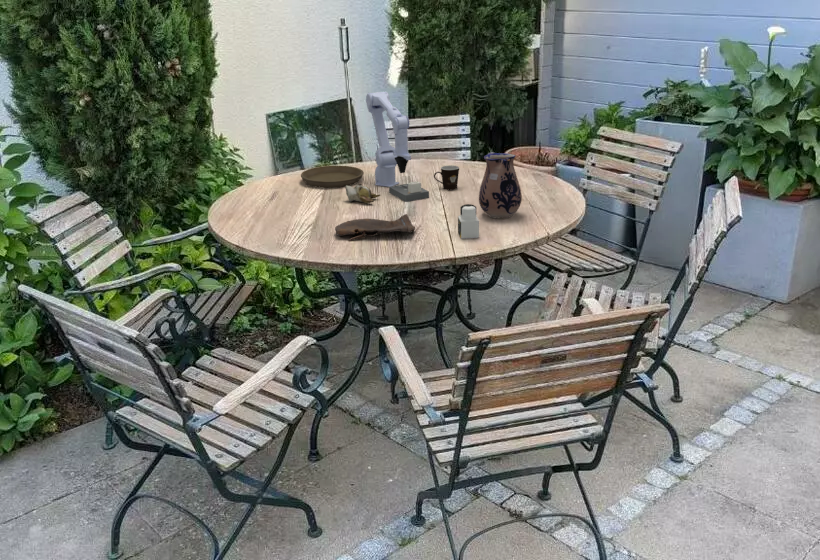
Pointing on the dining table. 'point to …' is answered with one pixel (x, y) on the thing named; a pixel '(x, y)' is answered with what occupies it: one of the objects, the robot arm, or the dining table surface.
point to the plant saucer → (332, 176)
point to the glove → (374, 227)
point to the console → (407, 193)
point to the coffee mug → (449, 177)
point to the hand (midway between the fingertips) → (402, 172)
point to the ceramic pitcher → (500, 186)
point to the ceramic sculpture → (360, 194)
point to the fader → (414, 187)
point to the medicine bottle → (468, 222)
